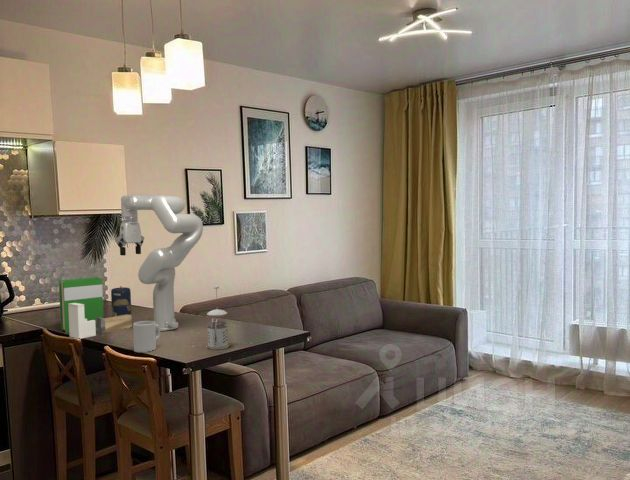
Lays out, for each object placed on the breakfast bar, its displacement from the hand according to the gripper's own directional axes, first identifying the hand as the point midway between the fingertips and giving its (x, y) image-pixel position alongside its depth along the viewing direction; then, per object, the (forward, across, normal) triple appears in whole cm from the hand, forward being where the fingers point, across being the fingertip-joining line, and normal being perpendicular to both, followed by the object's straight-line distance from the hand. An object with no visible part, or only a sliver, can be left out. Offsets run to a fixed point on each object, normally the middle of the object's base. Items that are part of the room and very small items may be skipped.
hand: (130, 254), depth 270 cm
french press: (+34, -21, -72) cm, 82 cm away
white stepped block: (+35, -31, -2) cm, 47 cm away
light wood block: (+35, -14, -4) cm, 38 cm away
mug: (+35, -34, -48) cm, 68 cm away
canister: (+35, +3, +11) cm, 37 cm away
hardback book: (+35, -19, +13) cm, 42 cm away
